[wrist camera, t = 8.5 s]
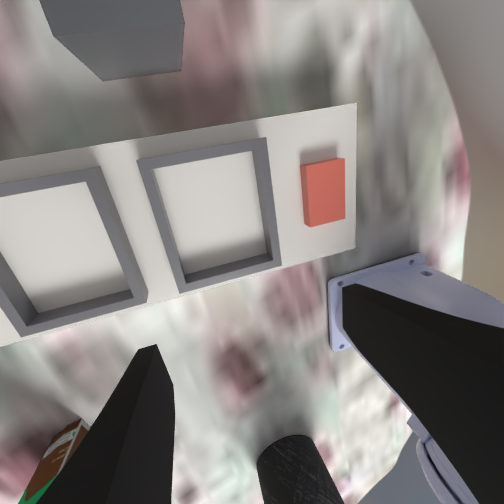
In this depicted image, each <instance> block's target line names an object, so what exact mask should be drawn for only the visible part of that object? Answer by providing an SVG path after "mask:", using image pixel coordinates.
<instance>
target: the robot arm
mask: <svg viewBox="0 0 504 504" xmlns="http://www.w3.org/2000/svg"><path fill="white" fill-rule="evenodd" d="M424 263H425V255H424V254H421V253H417V254H413V255H410V256H407V257H403V258H400V259H396V260H393V261H390V262H386V263H383V264H380V265H376V266H373V267H369V268H366V269H363V270H359V271H356V272H353V273H349V274H346V275H342V276H339V277H336V278H333V279H331V280H330V281H329V282H328V304H329V328H330V348H331V350H332V351H333V352H338V351H341V350H344V349H347V348H349V347H353V348H354V349H355V350H356V351H357V352H358V354H359V355H360V356H361V357H362V358H363V359H364V360H365V361H366V363H367V364H368V365H369V366H370V367H371V368H372V369H373V370H374V372H375V373H376V374H377V375H378V376H379V377H380V378H381V380H382V381H383V382H384V383H385V384H386V385H387V386H388V387H389V389H390V390H391V391H392V392H393V393H394V394H395V395H396V396H397V398H398V399H399V400H400V401H401V402H402V403H403V404H404V406H405V407H406V408H407V409H408V410H409V411H410V412H411V413H412V415H411V417H410V418H409V420H408V421H407V424H408V425H409V426H410V428H411V429H412V430H413V431H414V432H415V434H416V435H417V436H418V437H419V438H420V439H419V440H418V442H417V445H416V450H417V456H418V459H419V461H420V464H421V466H422V469H423V472H424V474H425V477H426V479H427V481H428V483H429V485H430V486H431V488H432V490H433V491H434V493H435V495H436V496H437V498H438V499H439V500H440V502H441V503H442V504H504V304H503V303H501V302H500V301H499V300H497V299H496V298H494V297H493V296H491V295H489V294H487V293H485V292H483V291H481V290H479V289H477V288H474V287H472V286H470V285H468V284H466V283H464V282H462V281H460V280H457V279H455V278H453V277H451V276H449V275H447V274H445V273H442V272H440V271H438V270H436V269H434V268H432V267H430V266H428V265H425V264H424ZM340 281H341V282H340ZM339 282H340V283H339ZM338 283H339V284H338ZM174 431H175V403H174V389H173V383H172V381H171V378H170V376H169V373H168V371H167V369H166V366H165V364H164V361H163V359H162V356H161V354H160V351H159V349H158V347H157V344H155V345H151V346H148V347H145V348H142V349H138V351H137V352H136V354H135V356H134V357H133V359H132V361H131V362H130V364H129V366H128V368H127V369H126V371H125V373H124V375H123V376H122V378H121V380H120V381H119V383H118V385H117V387H116V388H115V390H114V391H113V393H112V395H111V396H110V398H109V400H108V401H107V403H106V405H105V406H104V408H103V409H102V411H101V413H100V414H99V416H98V417H97V419H96V420H95V422H94V423H93V425H92V426H91V428H90V429H89V431H88V432H87V434H86V435H85V437H84V438H83V440H82V441H81V443H80V444H79V446H78V447H77V449H76V450H75V452H74V453H73V454H72V456H71V457H70V459H69V460H68V461H67V463H66V464H65V466H64V467H63V468H62V470H61V471H60V472H59V474H58V475H57V476H56V478H55V479H54V480H53V482H52V483H51V484H50V486H49V487H48V488H47V490H46V491H45V492H44V494H43V495H42V496H41V497H40V499H39V500H38V501H37V502H36V504H171V492H172V472H173V452H174Z"/></svg>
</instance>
